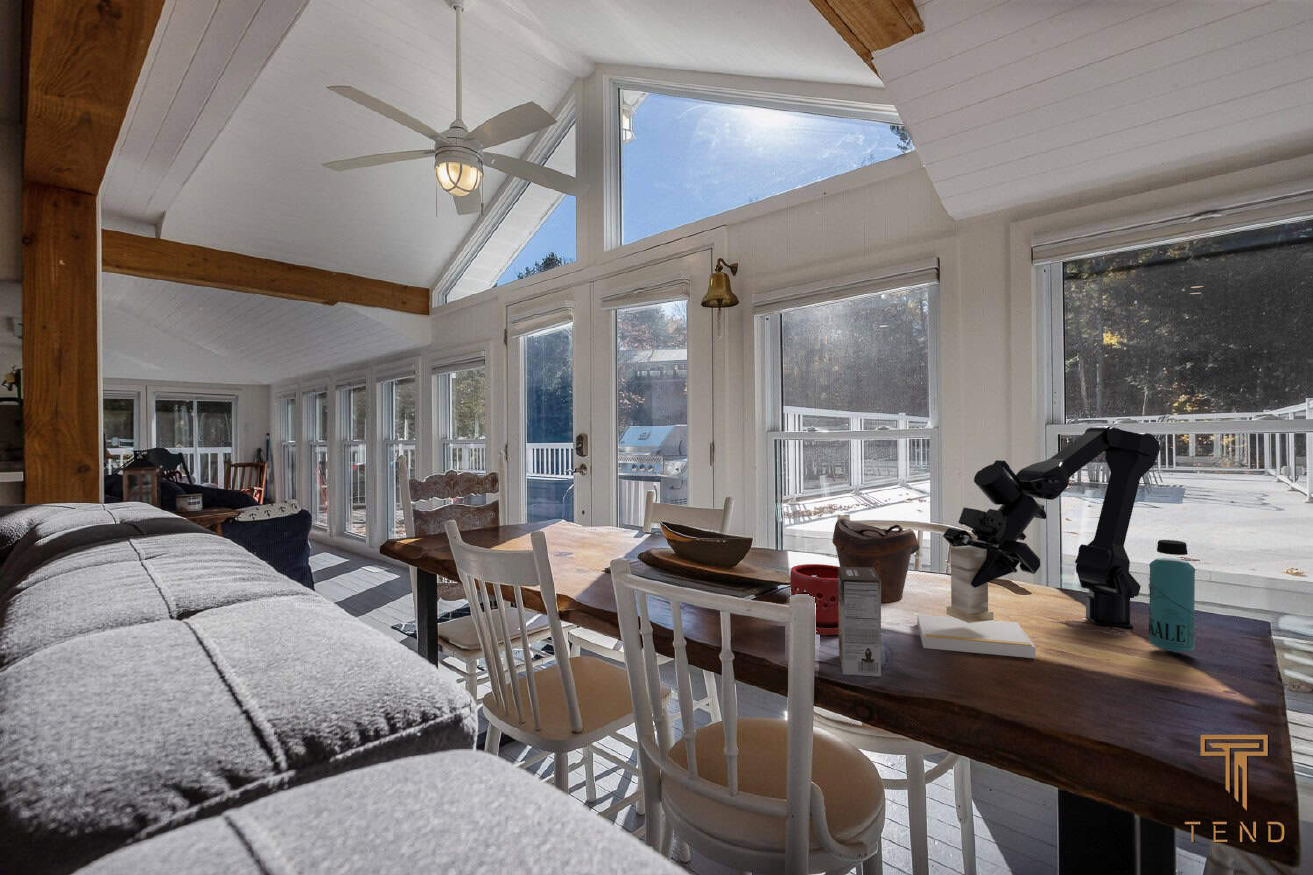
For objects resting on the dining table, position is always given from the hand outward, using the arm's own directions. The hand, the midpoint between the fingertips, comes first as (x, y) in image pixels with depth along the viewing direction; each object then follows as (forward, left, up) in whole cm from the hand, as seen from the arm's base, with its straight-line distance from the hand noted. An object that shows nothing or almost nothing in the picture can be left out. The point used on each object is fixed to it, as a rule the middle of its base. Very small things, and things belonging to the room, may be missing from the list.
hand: (963, 582), depth 117 cm
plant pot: (+25, 0, -11) cm, 28 cm away
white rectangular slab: (-2, -1, -11) cm, 11 cm away
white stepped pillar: (-1, -1, -7) cm, 7 cm away
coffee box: (+18, +18, -11) cm, 28 cm away
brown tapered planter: (+15, -28, -11) cm, 34 cm away
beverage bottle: (-34, -3, -11) cm, 36 cm away
